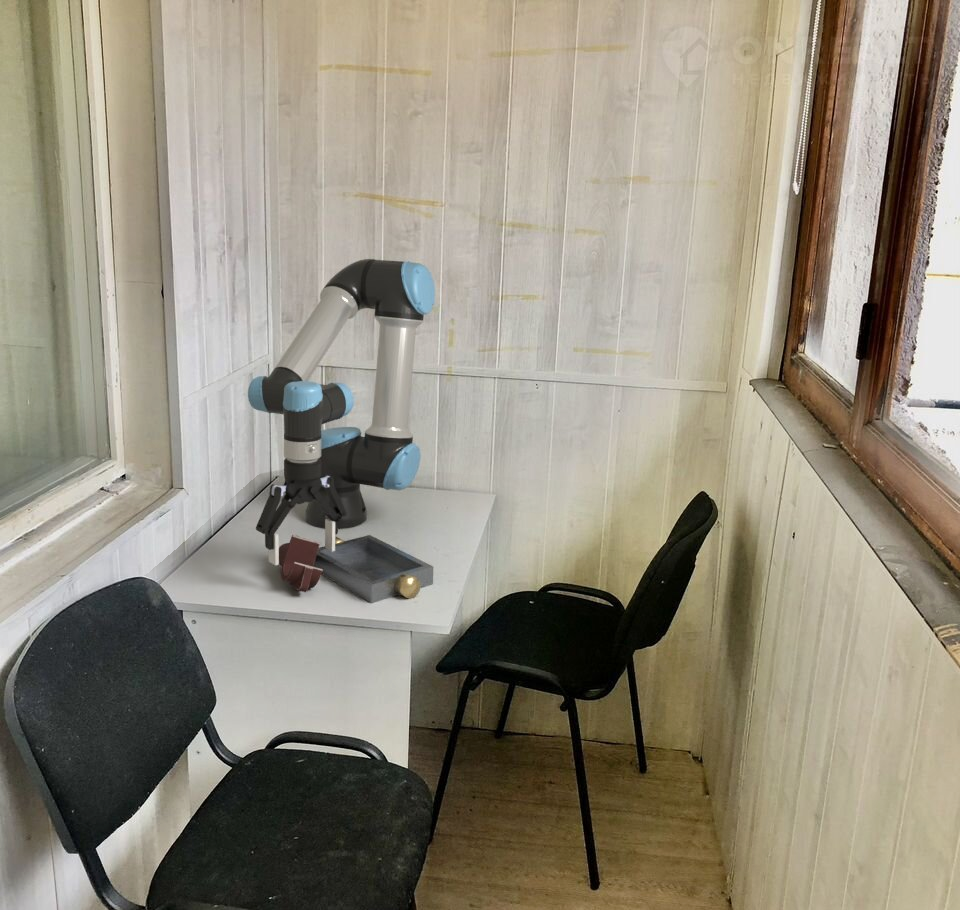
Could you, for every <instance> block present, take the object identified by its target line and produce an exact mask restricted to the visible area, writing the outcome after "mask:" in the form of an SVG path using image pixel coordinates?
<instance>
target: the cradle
mask: <svg viewBox="0 0 960 910" xmlns="http://www.w3.org/2000/svg"><path fill="white" fill-rule="evenodd" d="M313 567H315V568H319V569H323V571H322V574H321V576H322V575H323V576H324V577H326V578H328V579H329V580H331V581H332V582H335V583H336V584H338V585H339V586H341V587H344V589H346V590H348V591H350V592H352V593H354V594H355V595H357V596H358V597H360V598H362V599H364V600H365V601H367V602H369V603H371V604H373V603H376V602H380V601H383V600H387V599H389V598H392V597H396V596H399V595H400V596H402V597H404V598H406V599H408V600H409V599H414V598H415V597H417V596H418V595H419V593H420V591H421V588H424V587H425V588H426V587H428V586H431V585H433V584H434V566H433V565H431V564H429V563H427V562H425V561H423V560H421V559H419V558H417V557H416V556H413V555H411V554H409V553H407V552H406V551H404V550H401V549H399V548H397V547H395V546H393V545H391V544H389V543H387V542H385V541H382V540H381V539H379V538H377V537H375V536H373V535H371V534H368V535H364V536H360V537H356V538H355V537H354V538H352V539H346V540H344V539H342V538H340V537H338V536H335V551H333V552H332V551H330V550H328V549H326V548H325V545H324V546H319V548H318V551H317V554H316V558H315V561H314V564H313Z"/></svg>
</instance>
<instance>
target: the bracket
mask: <svg viewBox="0 0 960 910" xmlns="http://www.w3.org/2000/svg"><path fill="white" fill-rule="evenodd" d="M320 543H321V542H319V541H316V540H314V539H313V540H312V539H308V538H306V537H302V536H299V535H295V534H292V535H291V536H290V540H289V542H286V543H283V544H281V545H279V565H278V566H280V567H281V570H280V579H281V580H282V582H286V583H289V586H290V587H292V588H293V589H294V590H297V591H299V592H303V593H306V592H308V589H309V588H310V589H314V587H316V586H317V584H318V583H319V581H320V579H321V576H322V571H323V569H319V568H315V567H313V564H314V561H315V558H316V554H317V551H318V548H320V545H321V544H320Z"/></svg>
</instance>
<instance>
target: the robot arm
mask: <svg viewBox="0 0 960 910" xmlns="http://www.w3.org/2000/svg"><path fill="white" fill-rule="evenodd" d="M435 288H436V287H435V282H434V278H433V275H432V274H431V271H430V269H429V268H428V267H427V266H425V264H422V263H418V262H411V261H403V260H401V261H399V260H385V259H382V260H381V259H375V258H365V259H360V260H357V261H354V262H352V263H351V264H348V265H347V266H345V267H344V268H342V269H341V270H340V271H338V272H337V273H336V274H335V275H334V276H332V277H331V278H330V279H329V281H327V282H326V284H325V285H324V287H323V288H322V289H321V291H320V293H319V300H320V301H319V302H318V304H317V305H316V307H315V308H314V309H313V311H312V313H310V316H309V317H308V318H307V320H306V321H305V323H304V324H303V325H302V328H300V330H299V332H298V333H297V334H296V336H295V338H294V339H293V340H292V341H291V343H290V345H289V347H288V348H287V349H286V351H285V353H284V354H283V355H282V357H281V359H280V360H279V361H278V363H277V364H276V365H275V367H274V369H273V370H272V372H271V373H270V374H269V375H268V376H267V375H263V376H257V377H255V378H253V379H252V380H251V382H250V383H249V385H248V389H247V399H248V402H249V405H250V407H252V408H253V409H254V410H257V411H260V412H264V413H268V414H277V415H283V457H284V458H285V459H284V460H283V476H284V483H283V484H282V485H276V484H273V483H272V484H271V485H270V487H269V495H268V498H267V500H266V502H265V505H264V507H263V510H262V511H261V515H260V517H259V519H258V522H257V524H256V526H255V530H256V531H257V532H258V533H261V534H263V535H264V546H265V548H266V549H267V550H268V562H269V563H271V564H272V565H274V566H280V565H279V547H280V545H279V544H280V542H279V538H280V537H279V535H280V534H278V533H276V532H277V531H278V530H279V528H280V527H281V525H282V523H283V522H284V521H285V519H286V517H287V516H288V514H289V513H290V511H291V510H292V509H293V508H295V507H296V506H297V505H301V504H302V505H303V504H304V503H308V505H307V507H306V509H305V521H306V522H307V523H308V524H310V525H312V526H314V527H319V528H323V529H324V546H325V548H326V549H328V550H330V551H332V552H333V551H335V537H336V535H338V533H339V529H349V528H353V527H357V526H360V525H362V524H364V523H365V522H366V521H367V519H368V516H367V514H368V513H367V512H368V511H367V510H368V509H367V507H366V503H365V501H364V497H363V495H362V492H361V485H362V486H370V487H374V488H380V489H385V490H387V491H388V490H389V491H390V490H393V491H394V490H395V491H403V490H405V489H407V488H409V487H410V485H411V484H412V483H413V481H414V480H415V478H416V476H417V473H418V472H419V471H418V470H419V467H420V462H421V458H422V457H421V456H422V455H421V452H420V451H421V450H420V447H419V446H418V445H417V444H416V443H414V442H413V441H414V440H413V439H414V434H413V433H412V432H411V431H410V430H409V428H408V424H409V414H410V404H411V403H410V402H411V401H410V400H411V390H412V380H413V368H414V366H413V365H414V357H415V347H416V345H415V344H416V336H417V328H418V327H419V326H421V324H422V323H424V316H425V315H428V314H430V313H431V312H432V311H433V306H434V305H435V301H436V289H435ZM363 309H370V310H374V314H373V315H374V316H373V318H375V320H376V321H377V323H378V324H379V334H378V347H377V356H376V357H377V358H376V368H375V369H376V372H375V381H374V382H375V383H374V393H373V394H374V396H373V406H372V418H371V419H372V420H371V425H370V426H369V427H368V428H366V429H365V430H364V436H362V431H361V429H360V428H358V427H355V426H341V427H340V426H339V427H331V428H326V429H323V430H322V427H323V426H322V425H324V424H327V423H330V422H334V421H338V420H340V419H342V418H343V417H345V416H347V415H349V413H351V411H352V409H353V408H354V403H355V398H354V394H353V391H352V390H351V388H349V386H347V385H346V384H345V383H343V382H330V383H328V384H321V383H318V382H314V381H309V380H310V378H311V377H312V375H313V374H314V372H315V370H316V369H317V367H318V366H319V365H320V363H321V361H322V360H323V358H324V356H325V355H326V354H327V352H328V350H329V349H330V348H331V345H332V344H333V343H334V341H335V340H336V338H337V336H338V335H339V333H340V332H341V331H342V329H343V328H344V325H345V324H346V323H347V321H348V320H349V319H350V320H351V319H352V318H354V317H355V316H356V315H357V314H358V312H359V311H362V310H363ZM280 502H281V503H280Z"/></svg>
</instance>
